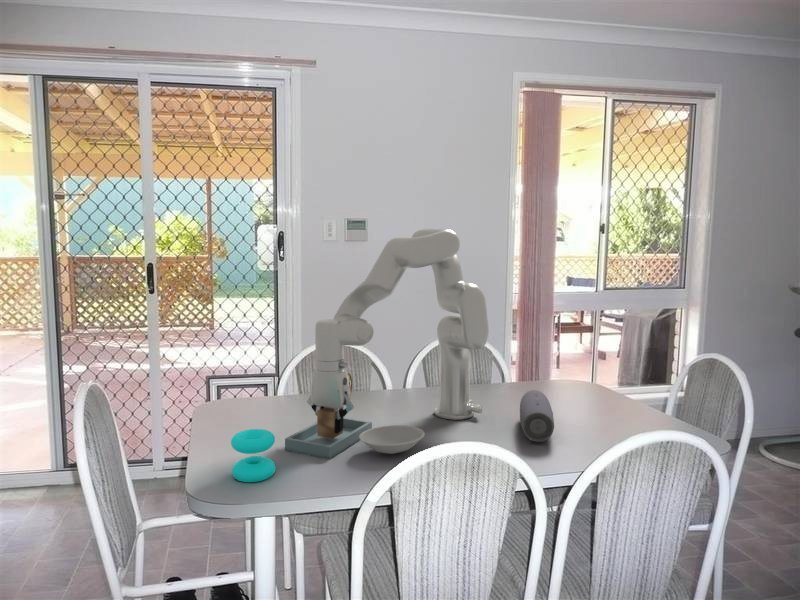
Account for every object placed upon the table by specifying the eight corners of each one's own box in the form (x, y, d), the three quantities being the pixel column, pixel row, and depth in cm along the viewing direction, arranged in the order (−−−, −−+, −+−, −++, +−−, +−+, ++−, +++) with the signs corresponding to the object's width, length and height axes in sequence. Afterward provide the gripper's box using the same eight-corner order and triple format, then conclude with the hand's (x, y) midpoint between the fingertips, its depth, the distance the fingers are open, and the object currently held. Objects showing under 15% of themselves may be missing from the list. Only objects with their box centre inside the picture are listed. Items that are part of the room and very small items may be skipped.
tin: (340, 406, 192) (340, 381, 191) (331, 405, 193) (331, 380, 192) (353, 393, 207) (353, 370, 206) (344, 393, 207) (344, 370, 206)
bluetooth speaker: (555, 447, 156) (556, 411, 155) (520, 445, 158) (521, 409, 157) (549, 420, 178) (550, 389, 177) (518, 418, 180) (519, 387, 179)
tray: (371, 432, 167) (371, 422, 166) (330, 459, 147) (330, 447, 147) (330, 425, 173) (330, 415, 172) (285, 450, 153) (284, 438, 153)
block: (342, 432, 161) (342, 408, 160) (333, 438, 156) (332, 413, 155) (327, 430, 163) (327, 405, 162) (317, 435, 158) (317, 410, 158)
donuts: (282, 430, 139) (258, 444, 130) (283, 470, 140) (259, 487, 131) (247, 425, 143) (221, 438, 133) (248, 464, 144) (223, 480, 135)
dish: (372, 469, 141) (372, 449, 141) (350, 449, 154) (350, 431, 153) (435, 456, 149) (435, 438, 149) (409, 439, 162) (409, 421, 161)
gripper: (363, 365, 157) (364, 431, 159) (311, 359, 164) (312, 422, 167) (349, 371, 150) (350, 439, 152) (295, 364, 158) (296, 429, 160)
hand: (330, 429), depth 159 cm, fingers closed on block, 4 cm apart
